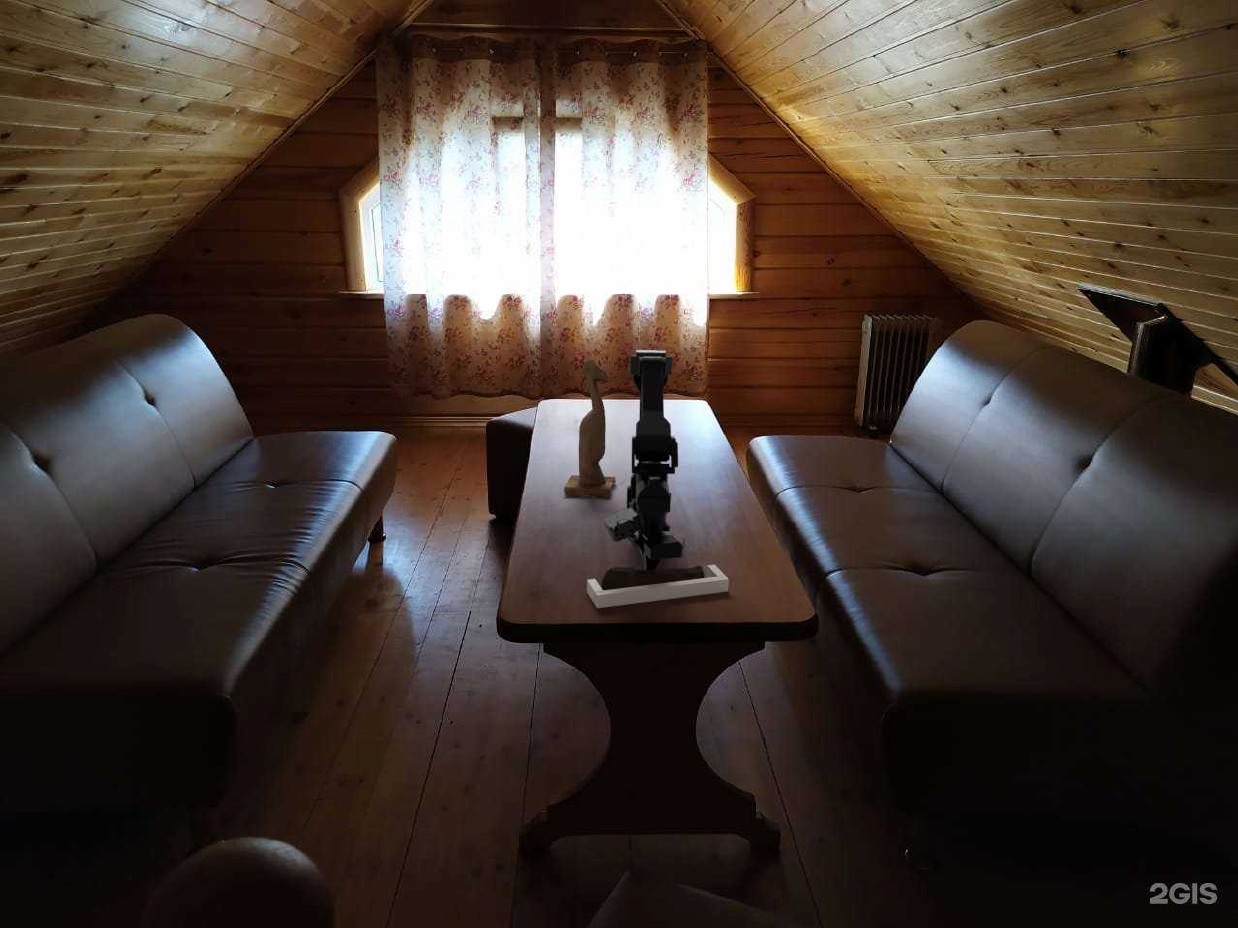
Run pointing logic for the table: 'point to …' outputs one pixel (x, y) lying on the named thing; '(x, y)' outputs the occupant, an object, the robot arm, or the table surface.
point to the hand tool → (647, 576)
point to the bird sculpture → (591, 443)
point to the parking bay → (658, 590)
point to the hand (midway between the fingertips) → (648, 574)
